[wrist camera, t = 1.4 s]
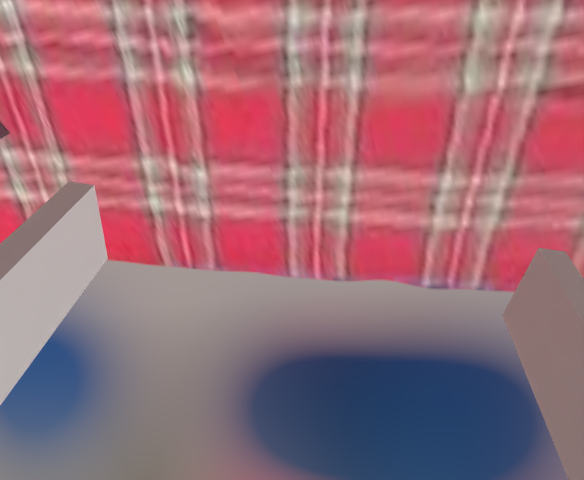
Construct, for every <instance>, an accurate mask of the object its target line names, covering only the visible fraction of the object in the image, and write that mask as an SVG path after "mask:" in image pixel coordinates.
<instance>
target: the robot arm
mask: <svg viewBox="0 0 584 480" xmlns="http://www.w3.org/2000/svg"><path fill="white" fill-rule="evenodd" d="M107 258H108V257H107V252H106V246H105V241H104V235H103V230H102V224H101V219H100V214H99V208H98V203H97V197H96V192H95V187H94V185H89V184H82V183H75V182H68V183H67V184H66V185H65V186H64V187H63V188H62V189H60V190H59V191H58V192H57V193H56V194H55V195H54V196H53V197H52V198H50V199H49V200H48V201H47V202H46V203H45V204H44V205H43V206H42V207H41V208H39V209H38V210H37V211H36V212H35V213H34V214H33V215H32V216H31V217H29V218H28V219H27V220H26V221H25V222H24V223H23V224H22V225H21V226H20V227H18V228H17V229H16V230H15V231H14V232H13V233H12V234H11V235H10V236H8V237H7V238H6V239H5V240H4V241H3V242H2V243H1V244H0V405H1V403H2V402H3V401H4V399H5V398H6V397H7V395H8V394H9V393H10V391H11V390H12V388H13V387H14V386H15V384H16V383H17V382H18V380H19V379H20V378H21V376H22V375H23V373H24V372H25V371H26V369H27V368H28V366H29V365H30V364H31V362H32V361H33V360H34V358H35V357H36V356H37V354H38V353H39V351H40V350H41V349H42V347H43V346H44V345H45V343H46V342H47V341H48V339H49V338H50V336H51V335H52V334H53V332H54V331H55V329H56V328H57V327H58V325H59V324H60V323H61V321H62V320H63V319H64V317H65V316H66V315H67V313H68V312H69V310H70V309H71V308H72V306H73V305H74V304H75V302H76V301H77V299H78V298H79V297H80V295H81V294H82V293H83V291H84V290H85V288H86V287H87V286H88V284H89V283H90V282H91V280H92V279H93V277H94V276H95V275H96V273H97V272H98V271H99V269H100V268H101V267H102V265H103V263H104V262H105V261H106V260H107ZM503 318H504V320H505V323H506V325H507V328H508V330H509V333H510V335H511V338H512V340H513V343H514V345H515V348H516V350H517V353H518V355H519V358H520V360H521V362H522V365H523V368H524V370H525V373H526V375H527V377H528V380H529V382H530V385H531V387H532V390H533V392H534V395H535V397H536V400H537V402H538V405H539V407H540V410H541V412H542V415H543V417H544V419H545V422H546V424H547V427H548V429H549V432H550V434H551V437H552V439H553V442H554V444H555V447H556V449H557V452H558V454H559V457H560V459H561V462H562V464H563V467H564V469H565V471H566V474H567V477H568V479H569V480H584V278H583V277H582V276H581V274H580V273H579V271H578V270H577V268H576V267H575V265H574V264H573V262H572V261H571V259H570V258H569V256H568V255H567V253H566V252H564V251H557V250H550V249H543V248H538V250H537V252H536V254H535V256H534V258H533V259H532V261H531V263H530V265H529V267H528V269H527V271H526V272H525V274H524V276H523V278H522V280H521V282H520V284H519V285H518V287H517V289H516V291H515V293H514V295H513V297H512V299H511V300H510V302H509V304H508V306H507V308H506V310H505V311H504V313H503Z"/></svg>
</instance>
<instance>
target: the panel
mask: <svg viewBox="0 0 584 480" xmlns="http://www.w3.org/2000/svg"><path fill="white" fill-rule="evenodd" d="M8 134H9V132H8V131H7V130H6V129H5V128H4V127H3V126H2V124H1V123H0V140H1V139H2V138H4V137H5V136H7V135H8Z"/></svg>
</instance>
